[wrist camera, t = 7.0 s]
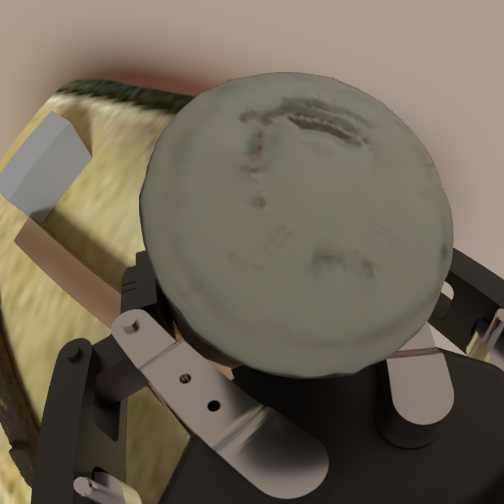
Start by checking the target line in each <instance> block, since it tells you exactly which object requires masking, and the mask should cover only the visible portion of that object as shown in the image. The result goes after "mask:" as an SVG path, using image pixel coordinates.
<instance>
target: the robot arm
mask: <svg viewBox="0 0 504 504" xmlns="http://www.w3.org/2000/svg"><path fill="white" fill-rule="evenodd" d="M445 282H447V283H448V284H450V285H451V287H452V288H453V291H454V296H453V299H452V300H451V299H450V298H448V297H447V296H446V295H444V294H443V293H441V292H440V295H439V298H438V301H437V304H436V306H435V308H434V310H433V312H432V314H431V316H430V318H429V319H428V320H427V322H426V323H425V325H424V326H423V327H422V329H421V330H420V331H419V332H418V333H417V334H416V335H415V336H414V337H413V338H412V339H410V340H409V341H408V342H407V343H406V344H405V345H404V346H403V347H402V348H400V349H399V350H398V351H396V352H395V353H393V354H392V355H391V356H389V357H388V358H386V359H385V360H383V361H381V362H378V363H375V364H373V365H370V366H367V367H365V368H364V369H362V370H361V371H359V372H357V373H356V374H354V375H350V376H342V377H333V378H322V379H297V378H289V377H283V376H278V375H273V374H269V373H265V372H262V371H259V370H256V369H253V368H251V367H248V366H246V365H242V366H239V367H236V368H233V369H231V371H232V374H233V377H234V379H232V380H229V379H228V378H227V377H226V376H225V375H223V374H222V373H221V372H220V371H219V370H217V369H216V368H215V367H214V366H213V365H212V364H210V363H209V362H208V361H207V360H206V359H205V358H203V357H202V356H201V355H200V354H199V353H198V352H196V351H195V350H194V349H193V348H192V347H191V346H190V345H189V344H188V343H186V342H185V341H184V340H182V339H179V340H178V341H177V339H176V333H175V328H174V322H173V318H172V316H171V314H170V312H169V309H168V306H167V303H166V300H165V296H164V294H163V292H162V290H161V288H160V286H159V284H158V282H157V280H156V278H155V276H154V274H153V270H152V267H151V264H150V260H149V257H148V254H147V251H146V250H144V251H141V252H138V253H136V266H133V267H129V268H127V269H126V271H125V273H124V274H123V276H122V287H121V308H120V316H118V317H117V318H116V319H115V321H114V322H113V324H112V327H111V333H112V334H111V335H109V336H108V337H106V338H105V339H103V340H101V341H99V342H98V343H96V344H94V345H92V344H91V343H90V342H89V341H88V340H87V339H84V338H78V339H74V340H72V341H70V342H68V343H67V344H66V345H64V347H63V348H62V349H61V350H60V352H59V354H58V357H57V360H56V364H55V367H54V371H53V375H52V379H51V382H50V386H49V390H48V395H47V399H46V403H45V408H44V412H43V417H42V422H41V428H40V433H39V439H38V445H37V451H36V458H35V466H34V474H33V484H32V495H31V504H142V503H141V499H140V496H139V494H138V493H137V492H136V490H135V489H133V488H132V487H131V486H129V485H127V484H126V422H127V403H128V396H130V395H132V394H133V393H135V392H137V391H139V390H140V389H142V388H144V387H146V386H147V388H148V389H149V390H150V391H151V392H152V394H153V395H154V396H155V397H156V398H157V400H158V401H159V402H160V403H161V404H162V405H163V407H164V408H165V409H166V410H167V411H168V412H169V414H170V415H171V416H172V417H173V418H174V419H175V420H176V422H177V423H178V424H179V425H180V426H181V428H182V429H183V430H184V431H185V432H186V433H187V434H188V435H189V436H190V439H189V441H188V443H187V445H186V447H185V449H184V451H183V454H182V456H181V458H180V460H179V462H178V464H177V466H176V468H175V470H174V472H173V474H172V476H171V478H170V480H169V482H168V484H167V486H166V488H165V490H164V492H163V494H162V496H161V498H160V500H159V502H158V504H504V280H503V279H502V278H500V277H499V276H497V275H496V274H494V273H493V272H491V271H490V270H488V269H487V268H485V267H484V266H482V265H481V264H479V263H477V262H476V261H474V260H472V259H471V258H470V257H468V256H466V255H465V254H463V253H462V252H460V251H458V250H457V249H455V248H453V255H452V263H451V266H450V269H449V271H448V274H447V277H446V279H445ZM428 323H429V324H430V325H432V326H433V327H434V328H435V329H437V330H438V331H439V332H440V333H441V334H443V335H444V336H445V337H446V338H447V339H449V340H450V341H451V342H452V343H453V344H455V345H456V346H457V347H458V348H459V349H460V350H462V351H463V352H464V353H465V354H466V355H467V356H464V355H461V354H457V353H454V352H451V351H447V350H444V349H441V348H437V347H435V343H434V340H433V337H432V334H431V330H430V328H429V324H428Z"/></svg>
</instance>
